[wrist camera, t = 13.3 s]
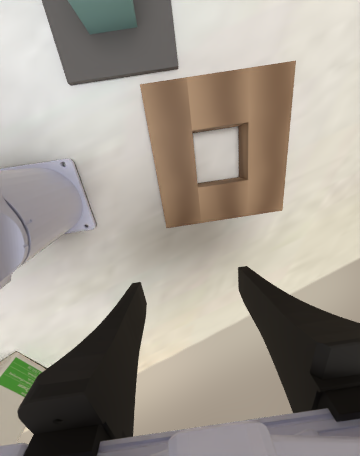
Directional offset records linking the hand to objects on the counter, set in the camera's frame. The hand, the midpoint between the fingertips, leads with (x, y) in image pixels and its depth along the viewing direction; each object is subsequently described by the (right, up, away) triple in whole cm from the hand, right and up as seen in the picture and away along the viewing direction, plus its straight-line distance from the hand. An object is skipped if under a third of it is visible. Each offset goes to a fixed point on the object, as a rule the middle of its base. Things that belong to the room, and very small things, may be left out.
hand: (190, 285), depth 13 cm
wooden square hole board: (+3, +12, +6) cm, 14 cm away
